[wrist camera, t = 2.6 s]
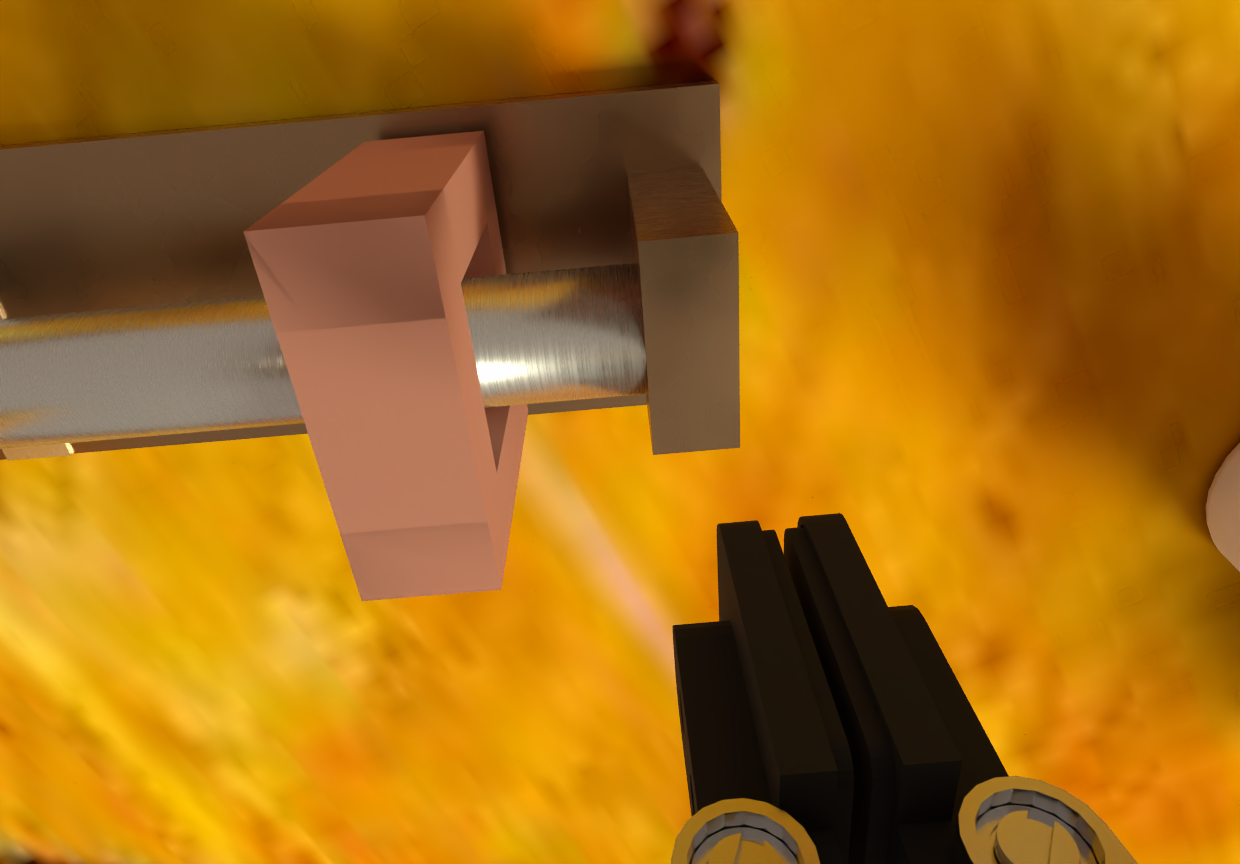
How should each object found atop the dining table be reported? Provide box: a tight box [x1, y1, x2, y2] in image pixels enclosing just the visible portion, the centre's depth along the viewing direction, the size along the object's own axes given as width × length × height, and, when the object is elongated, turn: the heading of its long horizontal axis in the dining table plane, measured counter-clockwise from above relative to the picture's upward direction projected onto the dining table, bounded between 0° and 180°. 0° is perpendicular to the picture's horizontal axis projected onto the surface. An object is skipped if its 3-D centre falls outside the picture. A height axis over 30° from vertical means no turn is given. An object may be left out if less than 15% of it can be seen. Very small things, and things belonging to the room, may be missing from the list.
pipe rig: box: [0, 80, 740, 460], centre depth 20 cm, size 9×31×7 cm, turn 94°
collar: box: [243, 131, 528, 601], centre depth 19 cm, size 8×3×8 cm, turn 4°
